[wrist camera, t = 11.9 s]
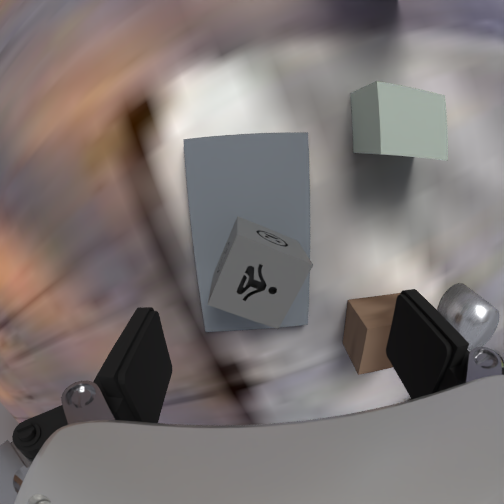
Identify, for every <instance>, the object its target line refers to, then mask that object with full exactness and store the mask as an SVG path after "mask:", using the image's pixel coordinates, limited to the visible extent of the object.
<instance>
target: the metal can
mask: <svg viewBox="0 0 504 504" xmlns="http://www.w3.org/2000/svg"><path fill="white" fill-rule="evenodd" d="M437 311H438V312H439V313H440V314H441V315H442V316H443V317H444V318H445V319H446V320H447V321H448V322H449V323H450V324H451V325H452V326H453V327H454V328H455V329H456V330H457V331H458V332H459V333H460V334H461V335H462V336H463V337H464V339H465V340H466V341H467V342H468V343H469V346H468V349H469V350H472V349H474V348H476V347H482V346H483V345H485V344H486V343H487V341H488V340H489V339H490V338H491V337H492V335H493V333H494V332H495V330H496V328H497V325H498V322H499V311H498V310H497V309H496V308H495V307H494V306H492V305H491V304H490V303H489V302H487V301H486V300H485V299H483V298H482V297H481V296H479V295H478V294H477V293H475V292H474V291H473V290H471V289H470V288H469V287H467V286H466V285H464V284H462V283H458V284H455V285H453V286H452V287H450V288H449V289H448V290H447V291H446V292H445V294H444V295H443V297H442V298H441V300H440V302H439V305H438V310H437Z"/></svg>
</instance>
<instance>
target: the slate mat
mask: <svg viewBox="0 0 504 504" xmlns="http://www.w3.org/2000/svg"><path fill="white" fill-rule="evenodd" d="M183 140H184V154H185V167H186V180H187V191H188V201H189V211H190V221H191V230H192V239H193V247H194V255H195V263H196V271H197V278H198V285H199V292H200V299H201V306H202V312H203V319H204V325H205V331H206V332H215V331H235V330H251V329H265V328H274V327H271V326H268V325H264V324H261V323H258V322H255V321H252V320H249V319H247V318H244V317H241V316H238V315H235V314H232V313H229V312H226V311H224V310H221V309H218V308H215V307H212V306H210V305H208V299H209V294H210V289H211V284H212V278H213V274H214V271H215V269H216V266H217V264H218V261H219V259H220V257H221V254H222V252H223V249H224V247H225V245H226V242H227V240H228V237H229V235H230V233H231V230H232V228H233V226H234V223H235V221H236V219H237V216H239V217H241V218H244V219H246V220H248V221H251V222H253V223H256V224H258V225H261V226H263V227H265V228H268V229H270V230H273V231H275V232H278V233H280V234H282V235H285V236H287V237H289V238H292V239H294V240H297V241H298V242H299V244H300V245H301V247H302V248H303V250H304V251H305V253H306V255H307V256H308V258H309V259H310V179H309V148H308V133H257V134H239V135H224V136H212V137H202V138H192V139H183ZM309 276H310V272H309V274H308V276H307V277H306V279H305V281H304V283H303V285H302V287H301V289H300V291H299V292H298V294H297V296H296V298H295V300H294V302H293V304H292V305H291V307H290V309H289V311H288V313H287V314H286V316H285V318H284V320H283V322H282V323H281V325H280V327H288V326H299V325H308V307H309Z"/></svg>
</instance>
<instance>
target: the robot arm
mask: <svg viewBox="0 0 504 504" xmlns="http://www.w3.org/2000/svg"><path fill="white" fill-rule="evenodd" d="M468 346H469V343H468V342H467V341H466V340H465V339H464V337H463V336H462V335H461V334H460V333H459V332H458V331H457V330H456V329H455V328H454V327H453V326H452V325H451V324H450V323H449V322H448V321H447V320H446V319H445V318H444V317H443V316H442V315H441V314H440V313H439V312H438V311H437V310H436V309H435V308H434V307H433V306H432V305H431V304H430V303H429V302H428V301H427V300H426V299H425V298H424V297H423V296H422V295H421V294H420V293H419V292H418V291H417V290H415V289H412V290H405V291H402V292H401V293H400V295H398V296H397V299H396V304H395V310H394V315H393V320H392V324H391V329H390V334H389V338H388V342H387V346H386V355H387V357H388V359H389V360H390V362H391V364H392V365H393V367H394V369H395V371H396V372H397V374H398V376H399V377H400V379H401V381H402V383H403V384H404V386H405V388H406V390H407V391H408V393H409V395H410V397H411V399H412V400H408V401H405V402H401V403H397V404H393V405H389V406H385V407H380V408H376V409H371V410H367V411H362V412H357V413H351V414H346V415H340V416H334V417H327V418H321V419H313V420H305V421H296V422H286V423H274V424H258V425H231V426H208V425H177V424H161V423H158V420H159V416H160V413H161V409H162V405H163V402H164V398H165V395H166V391H167V388H168V384H169V381H170V378H171V374H172V364H171V360H170V357H169V353H168V349H167V345H166V341H165V338H164V334H163V330H162V326H161V321H160V317H159V313H158V312H157V311H154V309H153V308H137V309H136V311H135V313H134V314H133V316H132V317H131V319H130V321H129V322H128V324H127V326H126V327H125V329H124V331H123V332H122V334H121V335H120V337H119V339H118V340H117V342H116V343H115V345H114V347H113V348H112V350H111V352H110V354H109V355H108V357H107V359H106V360H105V362H104V364H103V366H102V367H101V369H100V371H99V373H98V374H97V376H96V378H95V380H94V382H91V381H79V382H75V383H73V384H71V385H70V386H68V387H67V388H66V389H65V391H64V392H63V394H62V397H61V401H62V405H61V406H59V407H57V408H54V409H52V410H50V411H47V412H45V413H42V414H40V415H38V416H35V417H33V418H30V419H28V420H25V421H23V422H22V423H20V424H19V425H18V426H17V427H16V428H15V430H14V433H13V441H12V442H11V443H10V442H9V441H8V440H7V441H5V442H4V443H3V444H1V445H0V504H504V368H502V362H501V358H500V357H499V355H498V354H497V353H496V352H495V351H493V350H492V349H489V348H486V347H476V348H474V349H472V350H471V351H470V352H469V351H468V350H467V349H468Z"/></svg>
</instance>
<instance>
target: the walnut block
mask: <svg viewBox="0 0 504 504" xmlns="http://www.w3.org/2000/svg"><path fill="white" fill-rule="evenodd" d="M398 295H400V293H397V294H390V295H382V296H375V297H367V298H359V299H350V300H348V303H347V312H346V321H345V329H344V336H343V345H344V347H345V349H346V351H347V353H348V355H349V357H350V359H351V361H352V363H353V365H354V367H355V369H356V371H357V373H358V375H359V374H364V373H369V372H374V371H379V370H383V369H388V368H392V367H393V365H392V364H391V362H390V360H389V359H388V357H387V355H386V346H387V342H388V338H389V334H390V329H391V324H392V320H393V315H394V310H395V304H396V299H397V296H398Z"/></svg>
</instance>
